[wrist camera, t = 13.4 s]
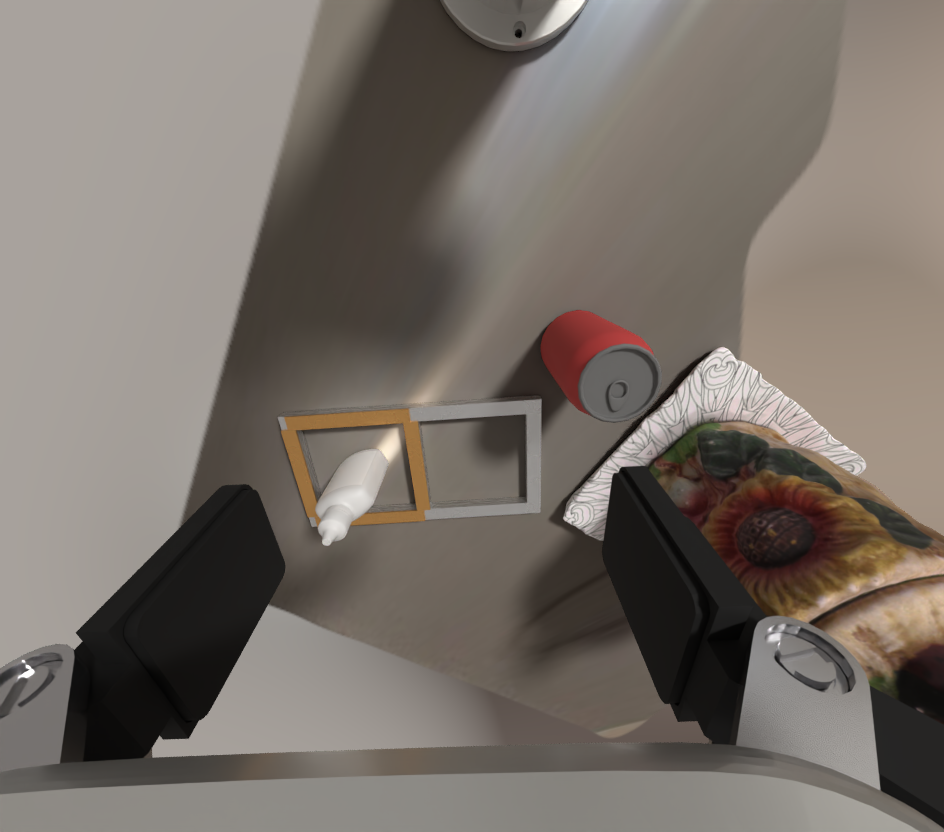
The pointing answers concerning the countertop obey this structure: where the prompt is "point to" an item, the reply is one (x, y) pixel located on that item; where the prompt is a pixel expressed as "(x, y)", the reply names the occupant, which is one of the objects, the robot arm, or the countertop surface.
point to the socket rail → (418, 455)
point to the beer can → (601, 366)
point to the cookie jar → (793, 522)
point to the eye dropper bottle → (350, 493)
